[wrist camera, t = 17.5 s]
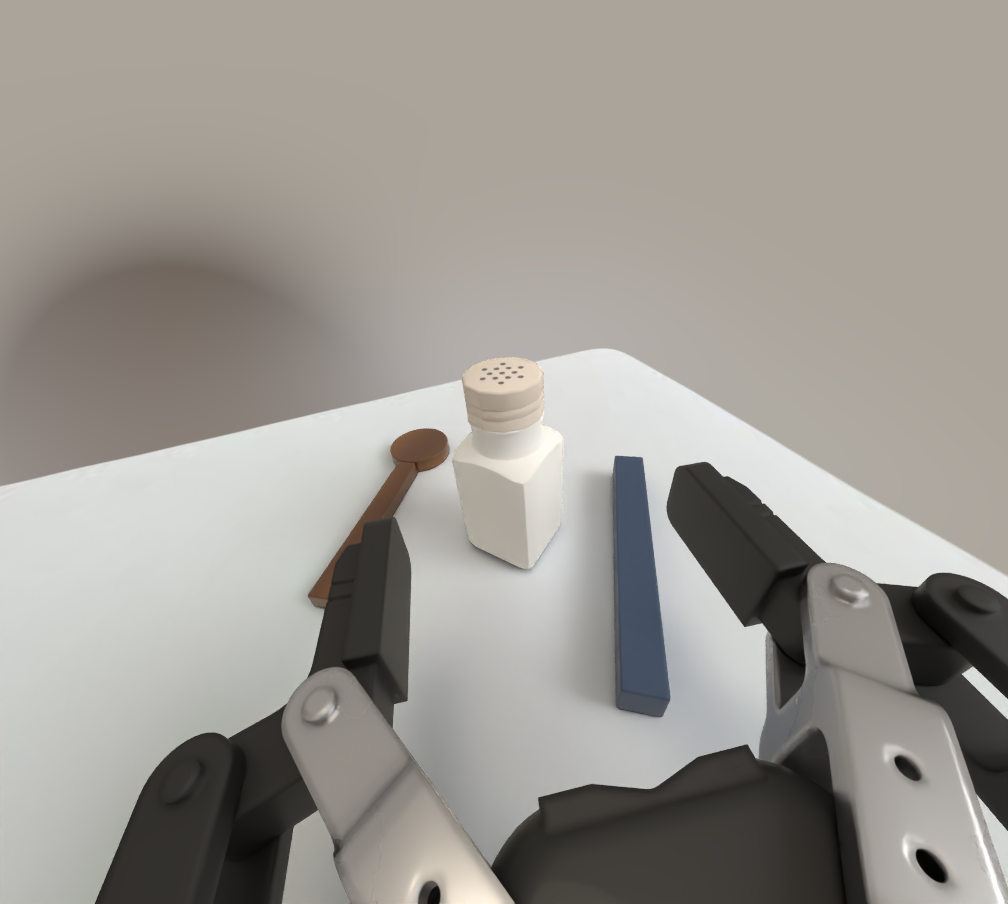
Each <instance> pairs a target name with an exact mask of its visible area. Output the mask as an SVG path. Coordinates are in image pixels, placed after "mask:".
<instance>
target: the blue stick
mask: <svg viewBox="0 0 1008 904" xmlns="http://www.w3.org/2000/svg"><path fill="white" fill-rule="evenodd" d="M613 534H614V602H615V670H616V706H617V708H619V709H624V710H629V711H633V712H638V713H643V714H648V715H653V716H658V717H662V716H663V714H664V712H665V710H666V708H667V706H668V704H669V701H670V699H671V698H670V690H669V681H668V672H667V664H666V655H665V646H664V638H663V629H662V620H661V612H660V603H659V595H658V586H657V577H656V569H655V560H654V551H653V543H652V534H651V525H650V517H649V508H648V499H647V491H646V482H645V473H644V465H643V458H641V457H628V456H615V460H614V468H613Z"/></svg>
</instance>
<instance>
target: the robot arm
mask: <svg viewBox="0 0 1008 904" xmlns="http://www.w3.org/2000/svg"><path fill="white" fill-rule="evenodd" d="M667 514H668V518H669V520H670V523H671V524H672V526H673V527H674V529H675V530H676V532H677V533H678V534H679V536H680V537H681V539H682V540H683V541H684V543H685V544H686V546H687V547H688V548H689V550H690V551H691V553H692V554H693V555H694V557H695V558H696V560H697V561H698V562H699V564H700V565H701V567H702V568H703V569H704V571H705V572H706V574H707V575H708V576H709V578H710V579H711V581H712V582H713V583H714V585H715V586H716V588H717V589H718V590H719V592H720V593H721V595H722V596H723V597H724V599H725V600H726V602H727V603H728V604H729V606H730V607H731V609H732V610H733V611H734V613H735V614H736V616H737V617H738V619H739V620H740V621H741V623H742V624H743V626H744V627H747V626H752V625H756V624H761V623H763V625H764V626H765V627H766V629H767V630H768V633H767V635H766V640H765V642H766V691H767V714H766V720H765V724H764V727H763V730H762V734H761V738H760V746H759V759H756V758H755V757H754V755H753V753H752V751H751V750H750V748H749V746H748V744H747V745H743V746H739V747H735V748H731V749H727V750H723V751H719V752H716V753H712V754H708V755H704V756H700V757H697V758H696V759H695V760H693V761H692V762H690V763H689V764H688V765H686V766H685V767H684V768H682V769H681V770H679V771H678V772H677V773H675V774H674V775H673V776H671V777H670V778H668V779H667V780H666V781H664V782H663V783H661V784H660V785H659V786H657V787H655V788H653V789H639V788H628V787H617V786H607V785H596V784H590V785H586V786H582V787H578V788H574V789H570V790H566V791H562V792H559V793H555V794H551V795H547V796H543V797H539V798H538V801H539V810H537V811H536V812H535V813H533V814H532V815H530V816H529V817H528V818H527V819H526V820H524V821H523V822H522V823H521V824H520V825H519V826H518V827H517V828H516V829H515V831H514V832H513V833H512V834H511V836H510V837H509V838H508V839H507V841H506V842H505V844H504V845H503V847H502V848H501V850H500V852H499V853H498V855H497V857H496V859H495V861H494V863H493V865H492V867H491V866H490V865H489V863H488V862H487V861H486V859H485V858H484V856H483V855H482V854H481V852H480V851H479V849H478V848H477V847H476V845H475V844H474V842H473V841H472V839H471V838H470V837H469V835H468V834H467V832H466V831H465V830H464V828H463V827H462V825H461V824H460V823H459V821H458V820H457V818H456V817H455V816H454V814H453V813H452V811H451V810H450V809H449V807H448V806H447V804H446V803H445V802H444V800H443V799H442V797H441V796H440V795H439V793H438V792H437V790H436V789H435V788H434V786H433V785H432V783H431V782H430V781H429V779H428V778H427V776H426V775H425V773H424V772H423V771H422V769H421V768H420V766H419V765H418V764H417V762H416V761H415V759H414V758H413V757H412V755H411V754H410V752H409V751H408V750H407V748H406V747H405V745H404V744H403V742H402V741H401V740H400V738H399V737H398V735H397V734H396V733H395V731H394V730H393V710H394V704H396V703H401V702H405V701H407V699H408V666H409V632H410V598H411V564H410V558H409V554H408V550H407V548H406V545H405V542H404V540H403V537H402V534H401V531H400V529H399V526H398V523H397V521H396V519H395V517H390V518H385V519H379V520H374V521H368V522H365V524H364V527H363V532H362V538H361V543H358V544H353V545H347V547H346V548H345V550H344V551H343V553H342V554H341V556H340V557H339V559H338V560H337V562H336V563H335V567H334V572H333V576H332V580H331V586H330V589H329V594H328V598H327V599H328V602H327V603H326V607H325V611H324V616H323V620H322V625H321V629H320V633H319V638H318V642H317V647H316V651H315V656H314V660H313V664H312V667H311V671H310V673H309V675H308V677H307V679H306V680H305V681H304V682H303V683H302V684H301V685H300V686H299V687H298V688H297V689H296V690H295V692H294V693H293V694H292V696H291V697H290V699H289V701H288V703H287V704H286V705H284V706H283V707H282V708H281V709H279V710H278V711H276V712H275V713H273V714H271V715H270V716H268V717H266V718H264V719H262V720H261V721H259V722H257V723H255V724H254V725H252V726H250V727H248V728H246V729H245V730H243V731H241V732H239V733H237V734H236V735H234V736H232V737H230V738H228V739H227V738H226V737H224V736H223V735H221V734H218V733H204V734H200V735H198V736H195V737H193V738H191V739H189V740H187V741H185V742H184V743H182V744H181V745H179V746H178V747H177V748H176V749H174V750H173V751H172V752H171V753H170V754H169V755H168V756H167V757H166V758H164V759H163V761H162V762H161V763H160V764H159V765H158V766H157V767H156V769H155V770H154V771H153V773H152V774H151V776H150V777H149V779H148V780H147V782H146V784H145V785H144V787H143V789H142V791H141V793H140V795H139V798H138V800H137V803H136V805H135V807H134V810H133V812H132V815H131V817H130V820H129V822H128V824H127V827H126V829H125V832H124V834H123V837H122V839H121V841H120V844H119V846H118V849H117V851H116V853H115V856H114V858H113V861H112V863H111V866H110V868H109V870H108V873H107V875H106V878H105V880H104V883H103V885H102V887H101V890H100V892H99V895H98V897H97V900H96V902H95V904H282V898H283V891H284V885H285V879H286V872H287V866H288V859H289V853H290V846H291V840H292V833H293V827H294V826H295V825H296V824H298V823H299V822H301V821H302V820H304V819H305V818H307V817H308V816H310V815H311V814H313V813H314V812H316V811H317V810H319V812H320V814H321V816H322V819H323V821H324V823H325V825H326V827H327V829H328V831H329V833H330V835H331V838H332V840H333V843H334V853H333V857H334V862H335V866H336V869H337V872H338V875H339V877H340V880H341V882H342V884H343V886H344V889H345V891H346V893H347V895H348V897H349V899H350V901H351V903H352V904H1008V887H1007V884H1006V881H1005V878H1004V875H1003V872H1002V869H1001V866H1000V863H999V860H998V858H997V855H996V852H995V849H994V846H993V843H992V840H991V837H990V834H989V831H988V828H987V825H986V822H985V819H984V816H983V813H982V810H981V807H980V804H979V801H978V798H977V795H978V796H979V798H980V799H981V800H982V801H983V802H984V803H985V805H986V806H987V807H988V808H989V809H990V811H991V812H992V813H993V814H994V815H995V817H996V818H997V819H998V820H999V821H1000V822H1001V824H1002V825H1003V826H1004V827H1005V828H1006V830H1007V831H1008V719H1007V718H1005V717H1004V716H1003V715H1002V714H1001V713H1000V712H999V711H998V710H997V709H996V708H995V707H994V706H993V705H992V704H991V703H990V702H989V701H988V700H987V699H986V698H985V697H984V696H983V695H982V694H981V693H980V692H979V691H978V690H977V689H976V688H975V687H974V686H973V685H972V684H971V683H970V682H969V681H968V680H967V679H966V678H965V677H964V676H963V675H962V673H964V672H965V671H967V670H968V669H970V668H971V667H973V666H974V667H975V668H976V669H977V670H978V671H979V672H980V673H981V674H982V675H983V676H984V677H985V678H986V679H987V680H988V681H989V682H991V683H992V684H993V685H994V686H995V687H996V688H997V689H998V690H999V691H1000V692H1001V693H1002V694H1003V695H1004V696H1005V697H1006V698H1007V699H1008V599H1007V598H1006V597H1004V596H1003V595H1001V594H1000V593H999V592H997V591H995V590H994V589H992V588H990V587H989V586H987V585H985V584H983V583H981V582H978V581H976V580H974V579H971V578H968V577H965V576H961V575H958V574H952V573H936V574H933V575H931V576H929V577H928V578H927V579H926V580H925V581H924V582H923V583H922V584H921V585H920V586H919V587H912V586H901V585H890V584H879V583H875V582H874V581H873V580H871V579H870V578H869V577H867V576H866V575H864V574H862V573H861V572H859V571H857V570H855V569H852V568H850V567H847V566H844V565H840V564H836V563H826V562H825V561H824V560H823V559H821V558H820V557H819V556H818V555H817V554H816V553H815V552H814V551H813V550H812V549H811V548H810V547H809V546H808V545H807V544H806V543H805V542H804V541H803V540H802V539H801V538H800V537H798V536H797V535H796V534H795V533H794V532H793V531H792V530H791V529H790V528H789V527H788V526H787V525H786V524H785V523H784V522H783V521H782V520H781V519H780V518H779V517H778V516H777V515H774V514H773V512H772V511H771V510H770V509H769V508H768V507H767V506H766V505H765V504H762V503H761V500H760V499H759V498H758V497H757V496H756V495H755V494H754V493H753V492H752V491H751V490H750V489H749V488H747V487H746V486H744V485H743V484H741V483H739V482H737V481H735V480H734V479H732V478H730V477H728V476H726V477H723V476H722V475H721V474H720V473H719V472H718V471H717V470H716V469H715V468H714V467H713V466H712V465H711V464H709V463H707V462H700V463H695V464H689V465H684V466H679V467H677V468H676V470H675V473H674V477H673V481H672V485H671V489H670V493H669V497H668V501H667ZM976 794H977V795H976Z"/></svg>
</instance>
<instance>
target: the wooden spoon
mask: <svg viewBox="0 0 1008 904" xmlns="http://www.w3.org/2000/svg"><path fill="white" fill-rule="evenodd" d="M390 452H391V455H392V458H393V461H394V464H395V465H396V467H395V469H394V470H393V472H392V473H391V474H390V476H389V477H388V479H387V480H386V482H385V483H384V485H383V486H382V488H381V489H380V491H379V492H378V493H377V495H376V496H375V498H374V499H373V501H372V502H371V504H370V505H369V507H368V508H367V510H366V511H365V512H364V514H363V515H362V517H361V518H360V520H359V521H358V523H357V524H356V526H355V527H354V529H353V530H352V531H351V533H350V534H349V536H348V537H347V539H346V540H345V542H344V543H343V545H342V546H341V548H340V549H339V550H338V552H337V553H336V555H335V556H334V558H333V559H332V561H331V562H330V564H329V565H328V567H327V568H326V569H325V571H324V572H323V574H322V575H321V577H320V578H319V580H318V581H317V583H316V584H315V586H314V587H313V588H312V590H311V591H310V593H309V594H308V597H309V599H310V600H311V601H312V603H313V604H314V606H318V607H324V608H325V607H326V603H327V602H328V599H327V598H328V594H329V589H330V586H331V580H332V576H333V572H334V567H335V563H336V562H337V560H338V559H339V557H340V556H341V554H342V553H343V551H344V550H345V548H346V547H347V545H353V544H358V543H361V538H362V532H363V527H364V524H365V522H368V521H374V520H379V519H385V518H390V517H392V515H393V514H394V512H395V510H396V509H397V507H398V505H399V504H400V502H401V500H402V499H403V497H404V495H405V494H406V492H407V490H408V489H409V487H410V485H411V484H412V482H413V480H414V479H415V477H416V475H417V474H418V472H419V471H425V470H428V469H431V468H434V467H436V466H437V465H439V464H440V463H442V462H443V461H444V460H445V459H446V458H447V456H448V454H449V445H448V440H447V437H446V435H445V434H444V433H443V432H441V431H439V430H436V429H417V430H413V431H410V432H407V433H405V434H403V435H402V436H400V437H399V438H397V439H396V440H395V441H394V442H393V444H392V446H391V449H390Z"/></svg>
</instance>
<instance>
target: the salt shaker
mask: <svg viewBox="0 0 1008 904" xmlns="http://www.w3.org/2000/svg"><path fill="white" fill-rule="evenodd" d="M462 383H463V389H464V394H465V401H466V408H467V413H468V422H469V423H470V425H471V428H472V432H471V433H470V434H469V435H468V436H467V437H466V438H465V439H464V440H463V441H462V442H461V443H460V445H459V446H458V447H457V448H456V450H455V452H454V456H453V460H452V463H453V468H454V472H455V477H456V482H457V487H458V492H459V497H460V501H461V506H462V511H463V516H464V521H465V526H466V530H467V535H468V539H469V540H470V541H471V542H472V543H473V544H474V545H475V546H476V547H478V548H480V549H482V550H484V551H486V552H488V553H490V554H492V555H494V556H496V557H499V558H501V559H503V560H505V561H507V562H509V563H511V564H513V565H515V566H517V567H520V568H522V569H530V568H531V567H533V566H534V564H535V563H536V562H537V560H538V559H539V557H540V556H541V554H542V553H543V551H544V550H545V548H546V546H547V545H548V543H549V542H550V540H551V539H552V537H553V536H554V534H555V533H556V531H557V530H558V528H559V526H560V525H561V523H562V491H563V437H562V436H561V435H560V434H559V433H558V432H557V431H556V430H554V429H552V428H550V427H548V426H546V425H543V424H542V418H543V416H544V400H543V399H544V391H543V389H544V373H543V371H542V370H541V368H540V367H539V366H538V364H537V363H535V362H532V361H529V360H526V359H523V358H508V357H503V358H496V359H490V360H485V361H483V362H480V363H478V364H476V365H474V366H471V367H469V368H468V370H467V371H466V372H465V373H464V374H463V376H462Z"/></svg>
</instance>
